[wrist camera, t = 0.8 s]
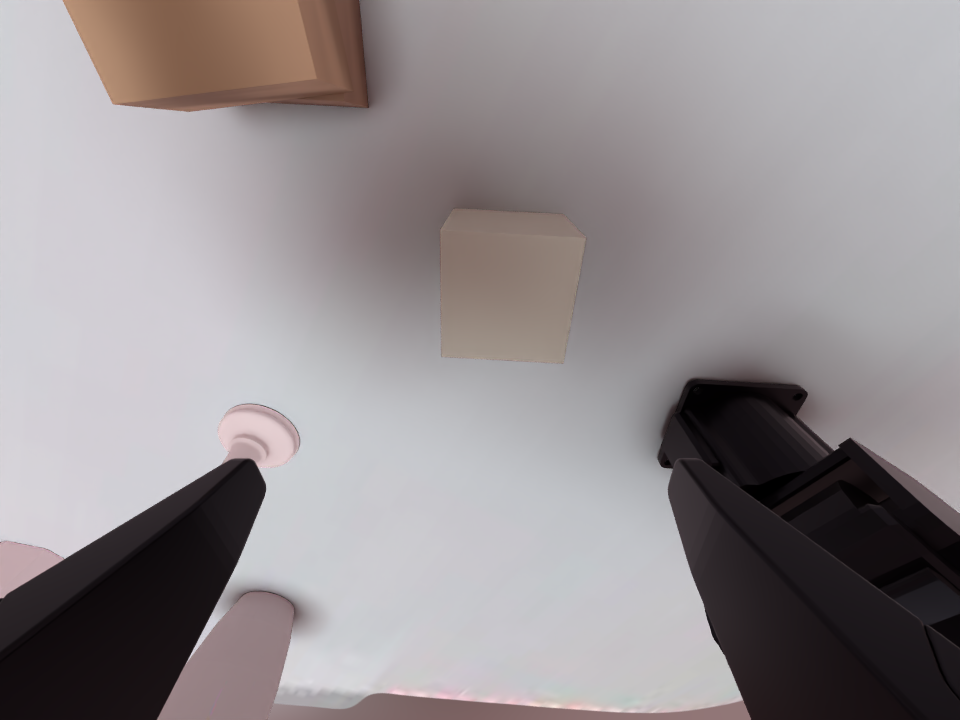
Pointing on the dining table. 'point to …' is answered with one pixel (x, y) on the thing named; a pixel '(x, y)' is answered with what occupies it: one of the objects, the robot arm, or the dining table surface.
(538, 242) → the cube
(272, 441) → the chess piece
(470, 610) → the dining table surface
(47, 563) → the mug
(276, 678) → the cup
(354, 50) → the tower base
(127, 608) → the robot arm
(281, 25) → the tower top
